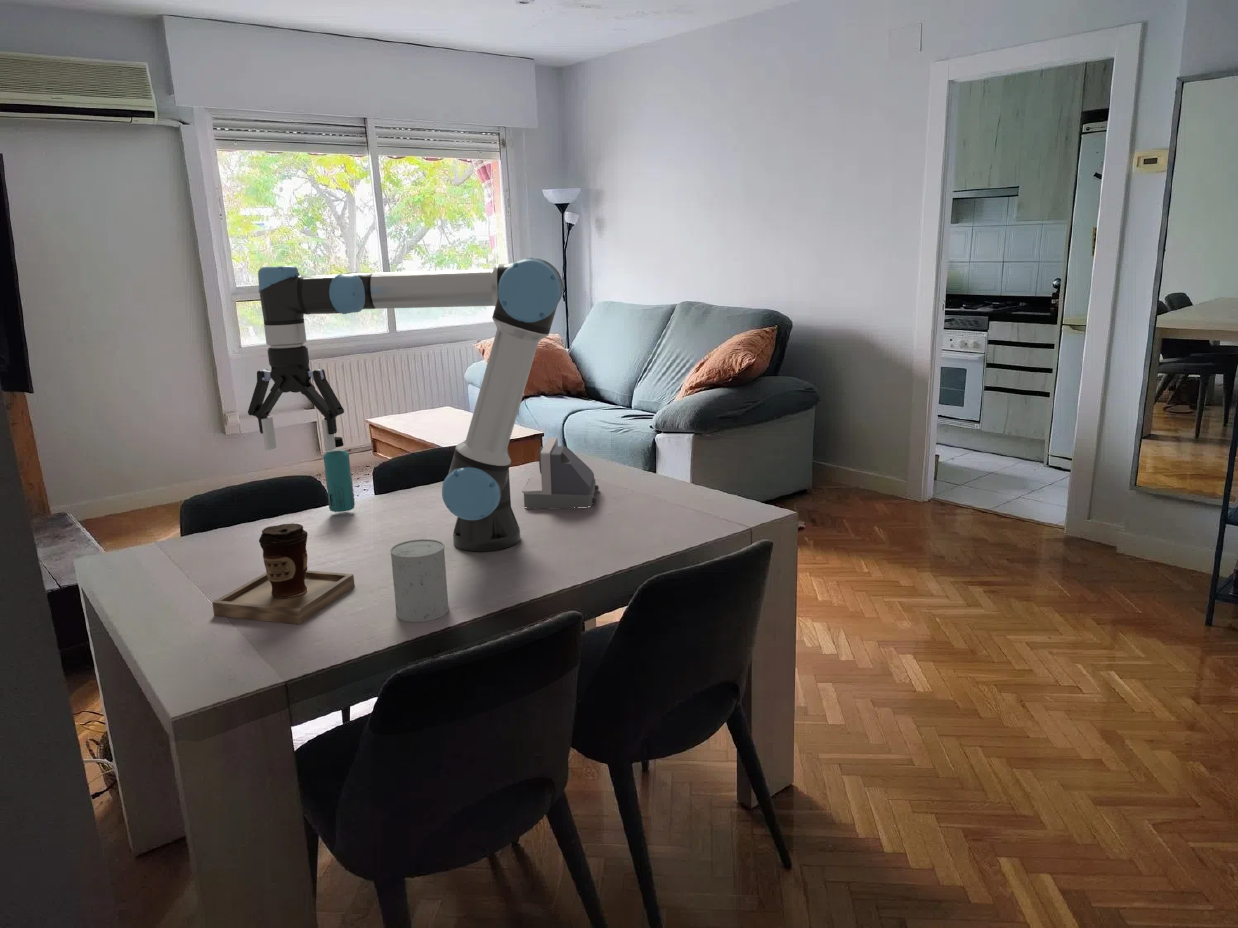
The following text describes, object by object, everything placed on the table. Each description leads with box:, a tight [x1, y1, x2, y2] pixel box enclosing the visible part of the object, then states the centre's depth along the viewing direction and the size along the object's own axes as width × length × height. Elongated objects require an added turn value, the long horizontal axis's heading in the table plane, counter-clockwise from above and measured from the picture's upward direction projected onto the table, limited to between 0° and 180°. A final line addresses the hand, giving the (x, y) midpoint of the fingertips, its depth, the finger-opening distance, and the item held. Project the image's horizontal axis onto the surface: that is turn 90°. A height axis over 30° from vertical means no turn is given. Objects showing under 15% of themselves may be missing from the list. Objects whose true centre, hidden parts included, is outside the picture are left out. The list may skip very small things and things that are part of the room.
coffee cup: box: [258, 522, 308, 598], centre depth 159 cm, size 9×8×13 cm
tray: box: [212, 569, 356, 625], centre depth 161 cm, size 18×18×3 cm
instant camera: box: [521, 437, 600, 508], centre depth 223 cm, size 21×21×15 cm
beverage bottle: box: [322, 436, 356, 513], centre depth 212 cm, size 6×7×20 cm
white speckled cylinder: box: [389, 538, 450, 623], centre depth 153 cm, size 10×10×12 cm
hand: (300, 449), depth 173 cm, fingers open, 13 cm apart
